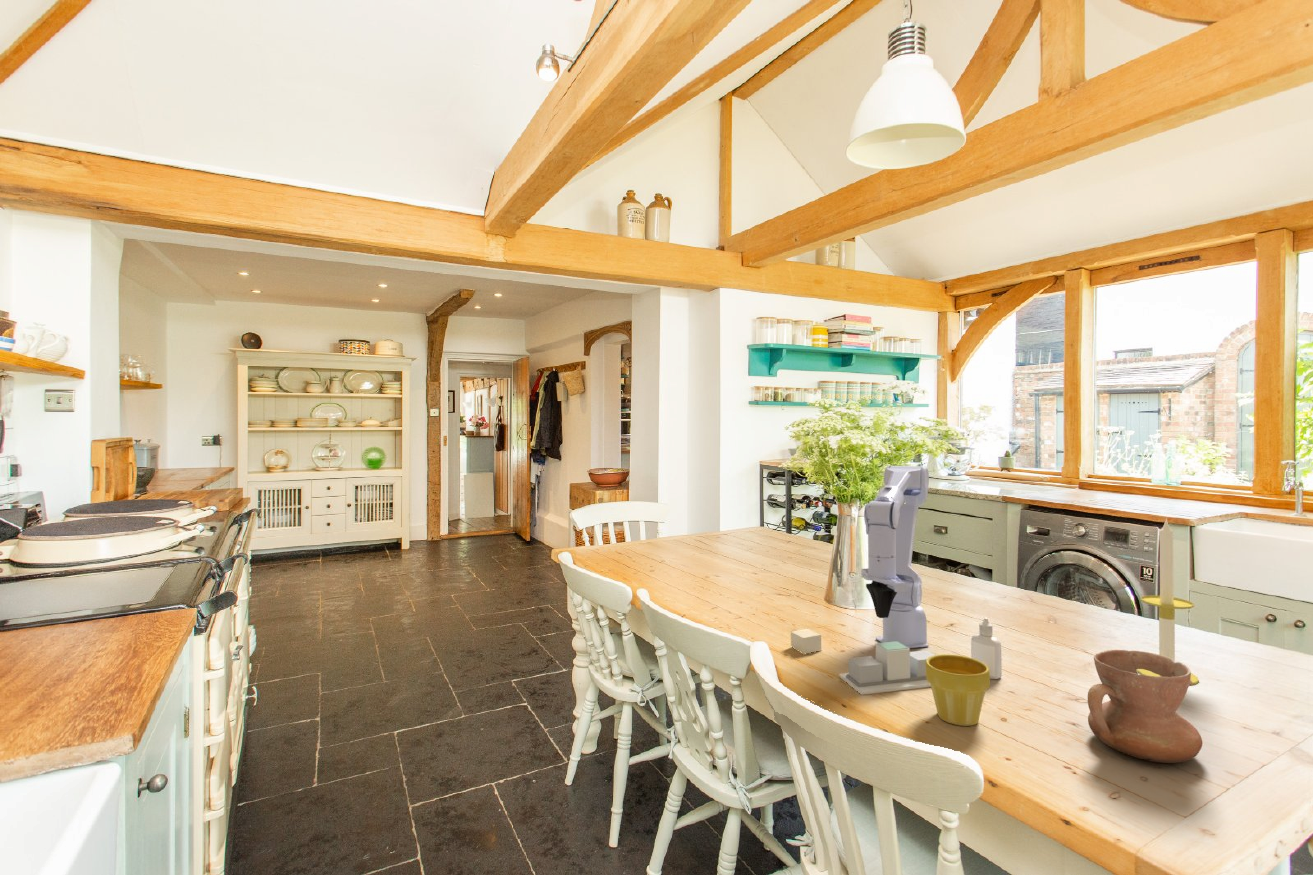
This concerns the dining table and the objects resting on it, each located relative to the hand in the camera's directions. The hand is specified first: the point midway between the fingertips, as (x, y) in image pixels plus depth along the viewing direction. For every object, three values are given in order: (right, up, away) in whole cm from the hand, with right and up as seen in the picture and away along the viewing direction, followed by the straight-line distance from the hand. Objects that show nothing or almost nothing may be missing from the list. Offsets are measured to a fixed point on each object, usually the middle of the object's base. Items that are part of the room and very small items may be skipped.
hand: (882, 617), depth 137 cm
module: (-1, -9, -9) cm, 13 cm away
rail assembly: (-1, -11, -9) cm, 14 cm away
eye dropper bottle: (+19, -10, -7) cm, 23 cm away
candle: (+55, -10, -9) cm, 57 cm away
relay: (-15, -11, +10) cm, 21 cm away
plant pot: (+4, -11, -25) cm, 28 cm away
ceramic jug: (+28, -11, -37) cm, 48 cm away
